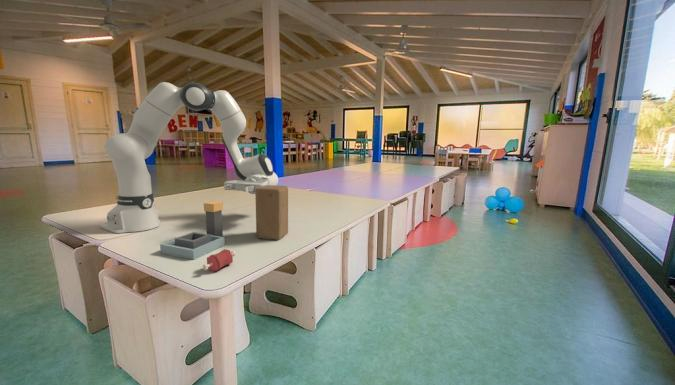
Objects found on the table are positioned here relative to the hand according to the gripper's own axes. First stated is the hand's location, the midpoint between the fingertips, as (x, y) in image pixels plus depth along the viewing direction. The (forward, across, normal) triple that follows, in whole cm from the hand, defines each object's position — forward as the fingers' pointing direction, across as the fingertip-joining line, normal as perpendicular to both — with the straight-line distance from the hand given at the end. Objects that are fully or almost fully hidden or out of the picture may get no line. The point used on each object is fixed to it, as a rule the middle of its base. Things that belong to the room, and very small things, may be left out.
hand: (234, 188), depth 117 cm
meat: (+32, +20, +18) cm, 42 cm away
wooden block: (+1, +18, +18) cm, 26 cm away
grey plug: (+12, 0, +18) cm, 21 cm away
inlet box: (+24, +2, +17) cm, 30 cm away
